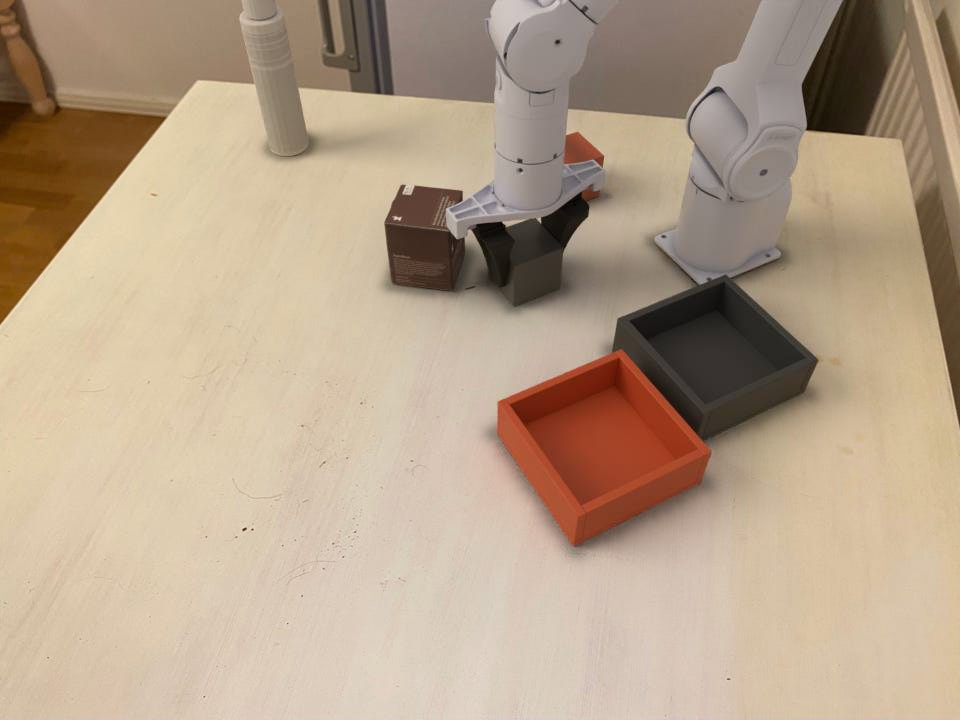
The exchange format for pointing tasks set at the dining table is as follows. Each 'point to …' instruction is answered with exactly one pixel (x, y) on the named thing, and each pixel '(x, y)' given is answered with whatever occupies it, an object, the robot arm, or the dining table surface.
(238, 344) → the dining table surface
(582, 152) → the red block
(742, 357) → the charcoal bin
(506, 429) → the rust bin
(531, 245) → the grey block
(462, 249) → the box
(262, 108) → the bottle
